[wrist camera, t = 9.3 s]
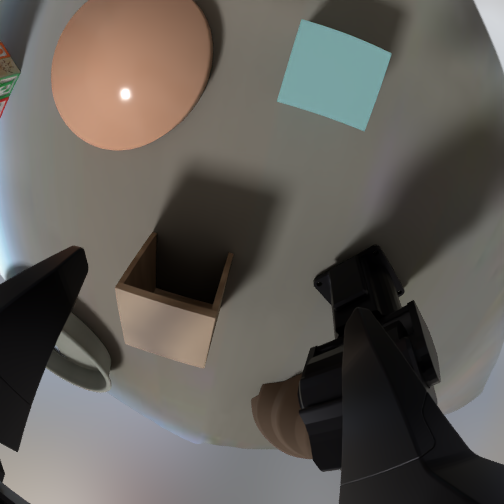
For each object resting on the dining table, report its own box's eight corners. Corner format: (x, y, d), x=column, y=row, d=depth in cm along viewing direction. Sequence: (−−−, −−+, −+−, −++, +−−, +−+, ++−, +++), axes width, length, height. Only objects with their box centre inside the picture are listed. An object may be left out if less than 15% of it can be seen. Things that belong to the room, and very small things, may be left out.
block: (365, 57, 13) (391, 53, 9) (345, 115, 16) (364, 131, 12) (298, 33, 13) (301, 19, 9) (280, 94, 16) (276, 101, 12)
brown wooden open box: (233, 253, 23) (215, 318, 18) (220, 309, 28) (204, 368, 22) (152, 231, 23) (115, 287, 18) (152, 289, 27) (125, 343, 22)
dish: (255, 55, 14) (253, 54, 13) (131, 177, 20) (123, 183, 19) (133, -42, 9) (125, -46, 8) (40, 84, 15) (31, 86, 14)
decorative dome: (271, 423, 47) (266, 469, 39) (234, 377, 37) (222, 442, 29) (372, 413, 42) (375, 461, 34) (377, 361, 31) (386, 433, 23)
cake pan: (-4, 256, 30) (-21, 273, 26) (118, 323, 33) (104, 350, 29) (28, 337, 44) (19, 352, 41) (122, 388, 47) (115, 406, 44)
